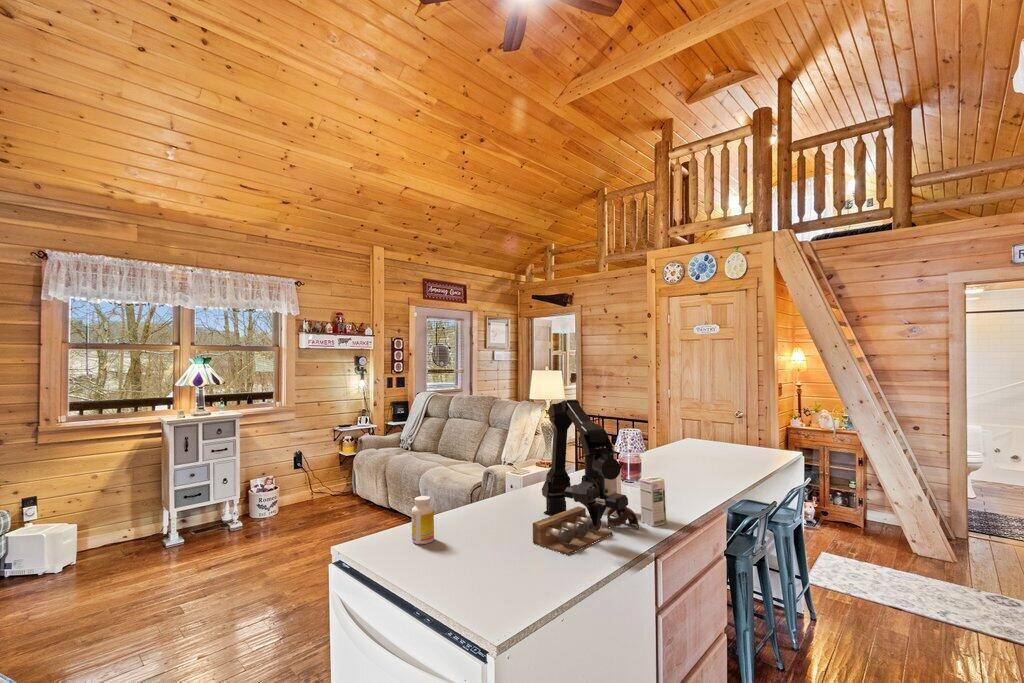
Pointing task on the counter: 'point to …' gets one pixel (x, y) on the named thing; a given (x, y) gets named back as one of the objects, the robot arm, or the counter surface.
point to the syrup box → (653, 501)
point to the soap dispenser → (613, 488)
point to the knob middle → (576, 528)
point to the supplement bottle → (422, 521)
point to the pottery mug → (622, 517)
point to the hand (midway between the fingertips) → (596, 526)
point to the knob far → (588, 522)
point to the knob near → (561, 534)
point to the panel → (568, 516)
